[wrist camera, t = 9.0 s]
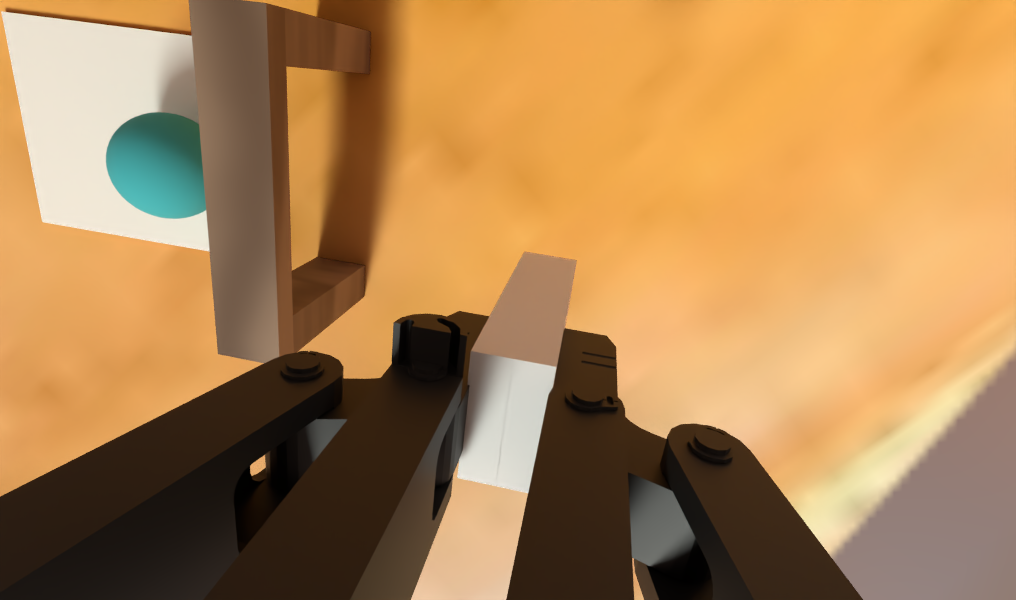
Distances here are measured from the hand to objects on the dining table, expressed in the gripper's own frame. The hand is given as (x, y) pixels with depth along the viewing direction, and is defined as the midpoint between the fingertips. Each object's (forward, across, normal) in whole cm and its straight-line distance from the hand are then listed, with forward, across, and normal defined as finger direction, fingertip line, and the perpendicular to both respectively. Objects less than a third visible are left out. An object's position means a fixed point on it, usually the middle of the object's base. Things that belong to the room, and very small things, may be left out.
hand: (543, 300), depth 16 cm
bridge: (+14, -13, 0) cm, 19 cm away
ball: (+12, -21, -1) cm, 24 cm away
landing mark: (+14, -27, 0) cm, 31 cm away
